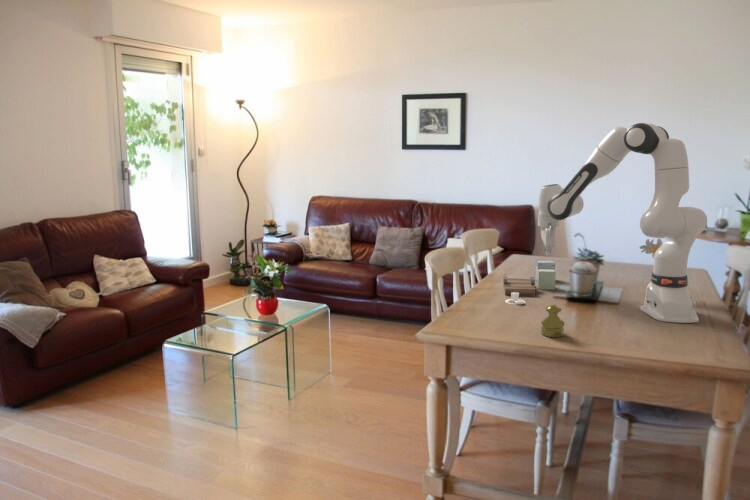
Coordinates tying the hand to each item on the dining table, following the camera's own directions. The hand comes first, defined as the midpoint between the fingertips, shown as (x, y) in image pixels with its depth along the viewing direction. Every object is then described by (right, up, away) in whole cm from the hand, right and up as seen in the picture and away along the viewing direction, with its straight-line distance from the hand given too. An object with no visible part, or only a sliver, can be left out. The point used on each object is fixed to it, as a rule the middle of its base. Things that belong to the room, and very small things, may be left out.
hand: (547, 253), depth 251 cm
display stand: (-12, -16, 0) cm, 20 cm away
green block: (0, -15, +3) cm, 16 cm away
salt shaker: (-15, -27, -56) cm, 64 cm away
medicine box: (+4, -13, +17) cm, 22 cm away
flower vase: (+42, -18, -14) cm, 48 cm away
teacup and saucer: (-20, -21, -19) cm, 35 cm away
